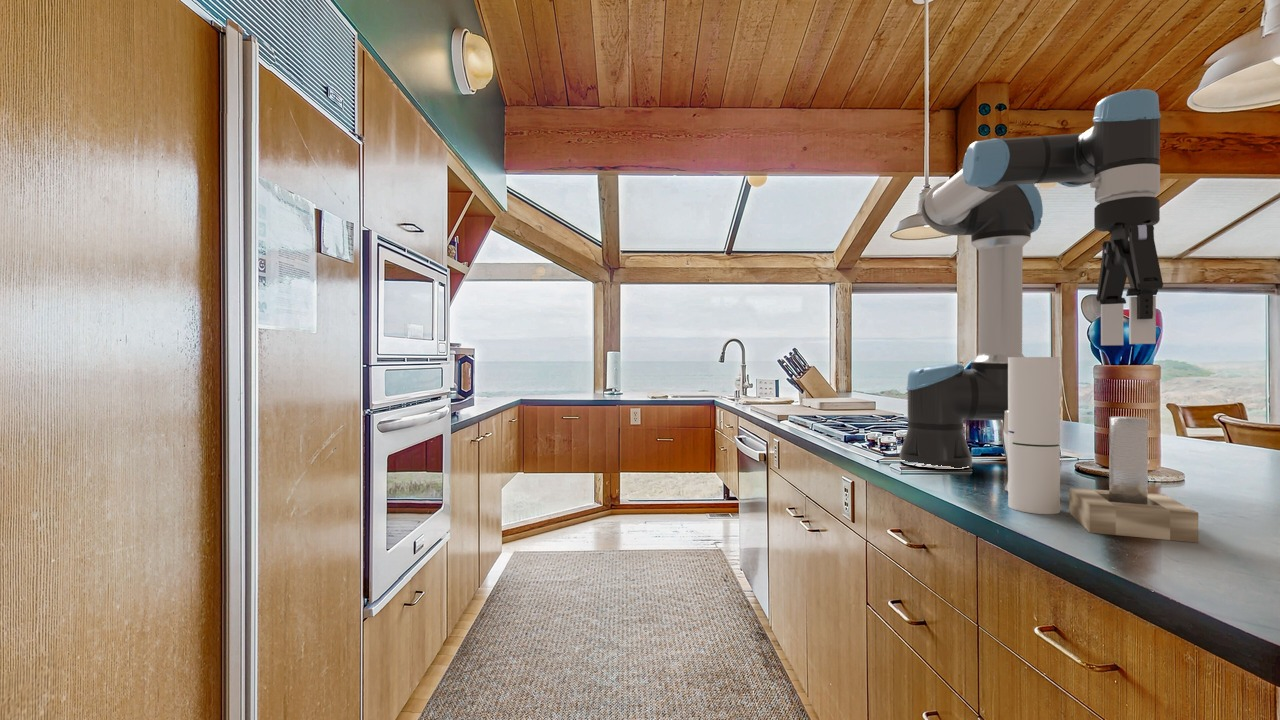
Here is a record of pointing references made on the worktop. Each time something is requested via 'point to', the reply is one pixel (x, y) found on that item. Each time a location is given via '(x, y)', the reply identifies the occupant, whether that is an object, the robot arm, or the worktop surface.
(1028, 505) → the cylindrical container
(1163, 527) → the socket block
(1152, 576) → the worktop surface
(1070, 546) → the worktop surface
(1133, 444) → the peg
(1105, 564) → the worktop surface
